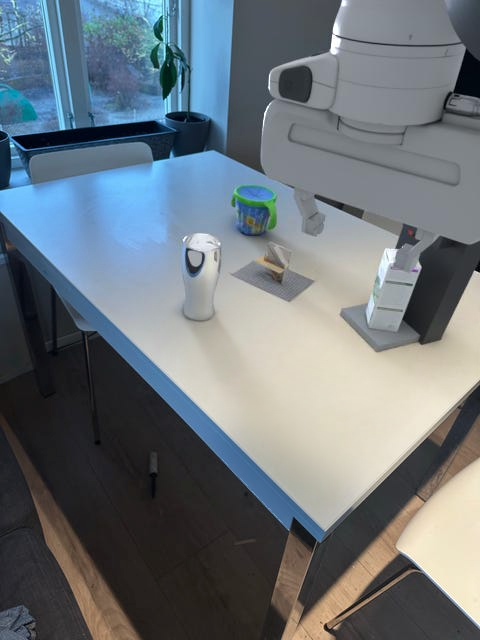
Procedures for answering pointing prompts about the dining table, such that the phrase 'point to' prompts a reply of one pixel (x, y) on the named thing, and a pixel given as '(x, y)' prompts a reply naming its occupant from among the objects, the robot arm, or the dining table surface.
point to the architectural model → (274, 274)
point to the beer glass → (200, 274)
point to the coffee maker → (424, 293)
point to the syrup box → (390, 294)
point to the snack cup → (254, 208)
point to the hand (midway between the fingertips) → (355, 249)
